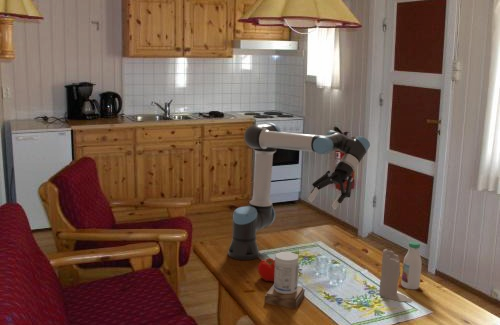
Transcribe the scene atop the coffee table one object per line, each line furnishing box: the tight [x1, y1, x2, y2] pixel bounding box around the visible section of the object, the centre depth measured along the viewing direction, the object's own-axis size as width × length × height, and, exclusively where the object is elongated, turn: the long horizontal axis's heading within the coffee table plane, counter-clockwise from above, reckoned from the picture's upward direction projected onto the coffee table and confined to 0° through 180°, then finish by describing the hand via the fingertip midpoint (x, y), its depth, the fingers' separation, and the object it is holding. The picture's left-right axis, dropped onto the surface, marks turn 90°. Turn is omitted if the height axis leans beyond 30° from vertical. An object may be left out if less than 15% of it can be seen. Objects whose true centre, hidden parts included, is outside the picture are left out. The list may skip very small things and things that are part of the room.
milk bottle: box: [400, 241, 423, 290], centre depth 235 cm, size 8×8×20 cm
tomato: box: [257, 258, 275, 282], centre depth 238 cm, size 11×11×9 cm
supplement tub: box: [273, 251, 299, 294], centre depth 217 cm, size 10×10×15 cm
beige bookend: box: [378, 248, 413, 303], centre depth 224 cm, size 7×14×20 cm, turn 58°
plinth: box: [264, 284, 306, 310], centre depth 219 cm, size 13×13×4 cm
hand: (321, 204), depth 230 cm, fingers open, 13 cm apart
